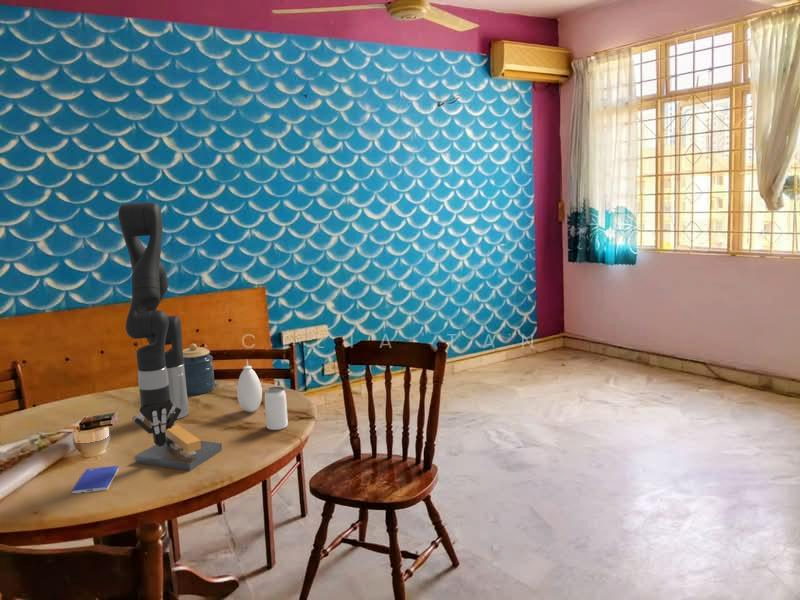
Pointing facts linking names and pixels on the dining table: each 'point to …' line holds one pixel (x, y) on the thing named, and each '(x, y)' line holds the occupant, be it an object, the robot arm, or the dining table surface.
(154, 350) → the robot arm
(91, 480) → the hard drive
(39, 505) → the dining table surface
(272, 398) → the can
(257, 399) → the sauce bottle
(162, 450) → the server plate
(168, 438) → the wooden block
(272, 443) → the dining table surface
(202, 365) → the canister
